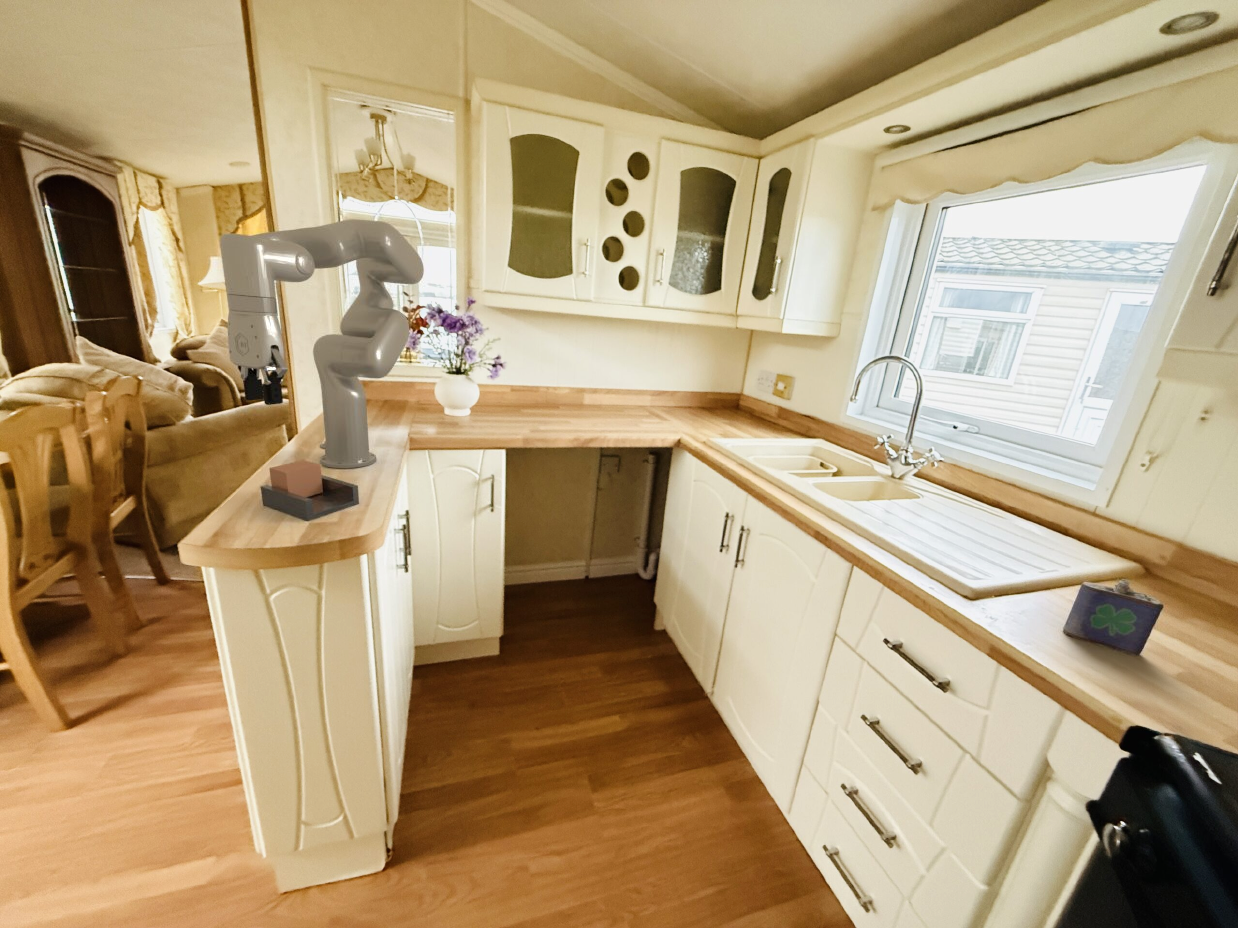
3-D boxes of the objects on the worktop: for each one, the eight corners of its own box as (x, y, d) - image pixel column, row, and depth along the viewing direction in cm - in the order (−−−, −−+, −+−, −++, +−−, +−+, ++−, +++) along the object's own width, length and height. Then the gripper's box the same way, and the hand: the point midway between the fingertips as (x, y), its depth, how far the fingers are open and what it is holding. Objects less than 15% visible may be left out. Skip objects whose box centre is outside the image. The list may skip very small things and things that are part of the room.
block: (272, 496, 98) (269, 467, 97) (306, 487, 105) (304, 460, 103) (289, 502, 96) (286, 473, 95) (322, 492, 103) (320, 464, 101)
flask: (1064, 635, 78) (1089, 574, 75) (1059, 626, 80) (1083, 567, 77) (1143, 659, 73) (1173, 596, 70) (1135, 648, 76) (1164, 587, 73)
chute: (262, 505, 97) (260, 486, 96) (316, 490, 107) (314, 472, 106) (307, 521, 92) (305, 501, 91) (359, 503, 102) (357, 485, 101)
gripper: (203, 302, 93) (217, 397, 98) (261, 309, 87) (272, 411, 92) (245, 304, 99) (256, 393, 105) (303, 311, 93) (311, 406, 98)
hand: (264, 400), depth 98 cm, fingers open, 5 cm apart
